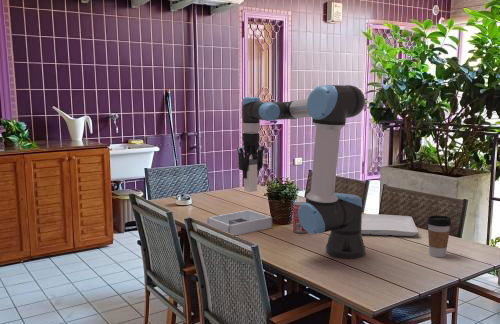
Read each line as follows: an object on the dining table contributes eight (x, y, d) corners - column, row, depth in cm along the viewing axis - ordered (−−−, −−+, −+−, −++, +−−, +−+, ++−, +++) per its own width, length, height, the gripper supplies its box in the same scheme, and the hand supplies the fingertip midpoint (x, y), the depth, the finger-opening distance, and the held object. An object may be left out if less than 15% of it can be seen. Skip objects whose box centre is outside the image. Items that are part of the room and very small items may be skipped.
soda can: (308, 234, 215) (308, 205, 213) (292, 233, 217) (292, 204, 215) (309, 229, 222) (309, 202, 220) (293, 229, 224) (293, 201, 222)
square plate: (353, 220, 239) (353, 213, 239) (411, 223, 234) (411, 215, 233) (353, 236, 213) (353, 227, 212) (419, 240, 207) (419, 231, 207)
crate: (272, 227, 226) (272, 217, 225) (229, 236, 212) (229, 225, 211) (249, 219, 240) (248, 209, 240) (207, 228, 226) (207, 217, 225)
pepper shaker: (256, 190, 216) (257, 159, 214) (249, 192, 214) (249, 160, 212) (251, 189, 220) (251, 158, 217) (244, 190, 217) (244, 159, 215)
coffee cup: (447, 260, 181) (449, 220, 179) (423, 256, 186) (425, 217, 183) (451, 253, 188) (453, 215, 186) (428, 250, 193) (430, 213, 190)
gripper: (261, 130, 221) (260, 181, 224) (230, 132, 211) (230, 185, 214) (271, 132, 215) (270, 184, 219) (240, 134, 205) (240, 188, 208)
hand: (250, 184), depth 216 cm, fingers closed on pepper shaker, 4 cm apart
